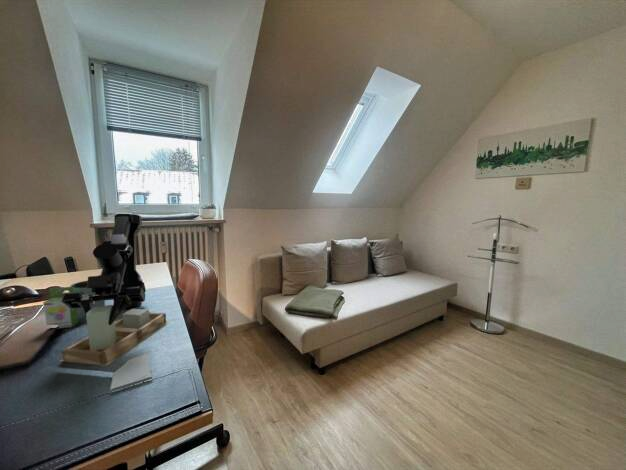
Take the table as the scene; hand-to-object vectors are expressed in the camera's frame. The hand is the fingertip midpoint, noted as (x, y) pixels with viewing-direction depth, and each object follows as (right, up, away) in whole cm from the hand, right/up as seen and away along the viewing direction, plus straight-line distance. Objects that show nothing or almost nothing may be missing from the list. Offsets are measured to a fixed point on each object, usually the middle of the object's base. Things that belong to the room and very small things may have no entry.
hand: (99, 325), depth 70 cm
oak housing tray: (0, -8, +8) cm, 11 cm away
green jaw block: (-1, -6, +2) cm, 7 cm away
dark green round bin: (-26, -5, +27) cm, 38 cm away
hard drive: (+13, -11, -5) cm, 18 cm away
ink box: (-27, -7, +17) cm, 33 cm away
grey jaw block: (+1, -6, +14) cm, 15 cm away
